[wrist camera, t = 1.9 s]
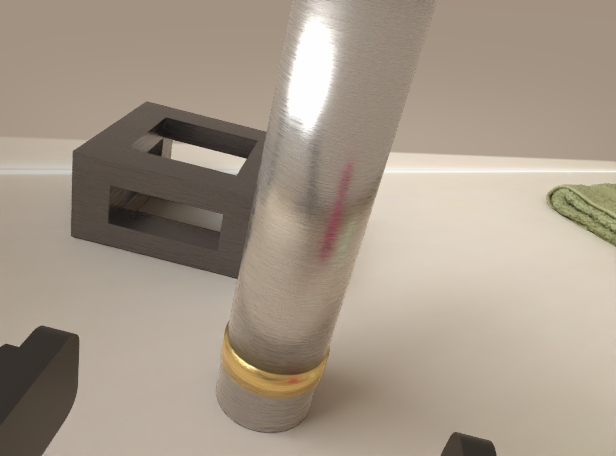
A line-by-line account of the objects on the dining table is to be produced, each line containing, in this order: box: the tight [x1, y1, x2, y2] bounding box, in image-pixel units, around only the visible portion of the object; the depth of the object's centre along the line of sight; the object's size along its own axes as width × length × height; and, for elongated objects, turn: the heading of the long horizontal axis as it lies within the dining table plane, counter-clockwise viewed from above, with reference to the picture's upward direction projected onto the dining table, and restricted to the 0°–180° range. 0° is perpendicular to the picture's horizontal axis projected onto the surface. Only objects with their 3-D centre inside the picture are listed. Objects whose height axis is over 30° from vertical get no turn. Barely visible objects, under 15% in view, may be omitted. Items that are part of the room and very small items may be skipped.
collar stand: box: [71, 102, 267, 278], centre depth 37 cm, size 11×11×6 cm
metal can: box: [216, 0, 437, 432], centre depth 21 cm, size 5×5×18 cm
